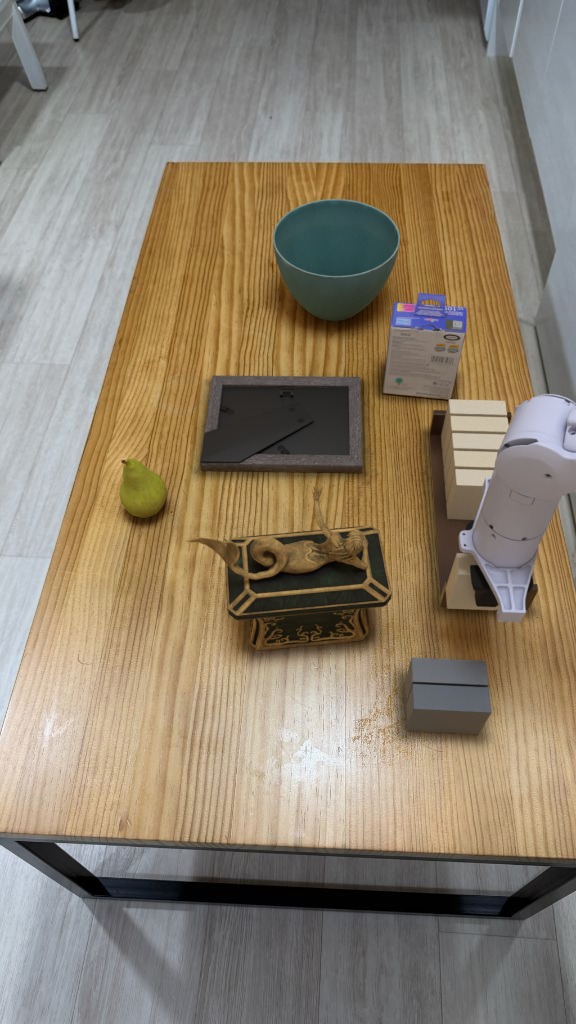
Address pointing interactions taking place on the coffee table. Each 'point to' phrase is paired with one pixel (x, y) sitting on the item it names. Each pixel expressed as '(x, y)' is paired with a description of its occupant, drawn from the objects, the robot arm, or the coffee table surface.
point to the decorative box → (304, 583)
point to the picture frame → (283, 424)
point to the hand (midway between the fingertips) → (484, 590)
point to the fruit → (141, 489)
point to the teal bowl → (335, 255)
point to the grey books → (447, 696)
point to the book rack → (444, 527)
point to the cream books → (470, 452)
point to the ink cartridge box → (424, 348)
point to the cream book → (462, 585)
